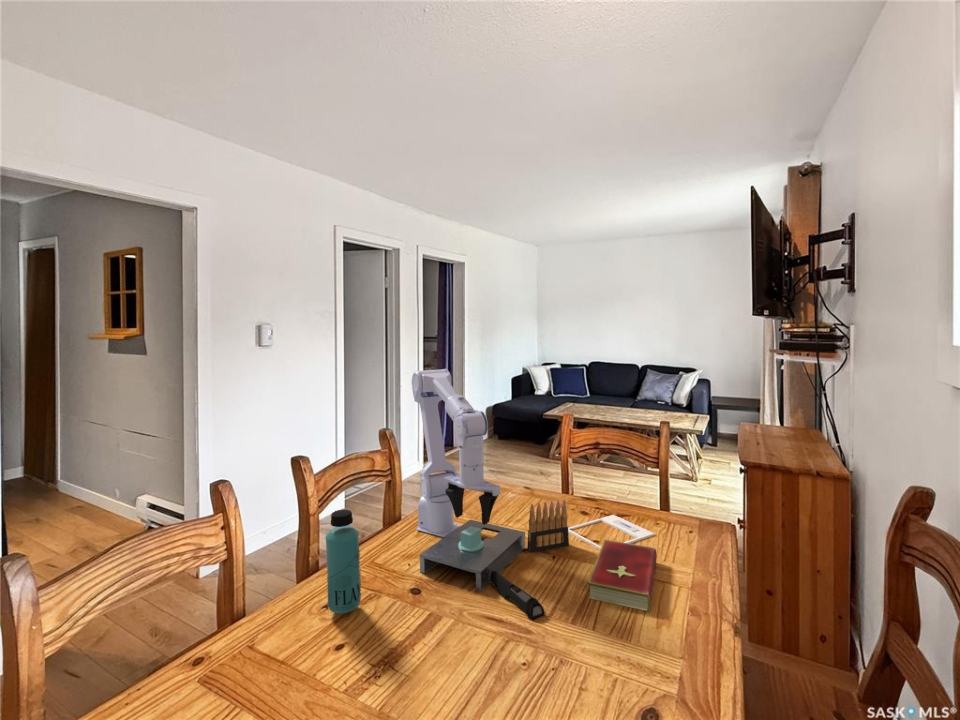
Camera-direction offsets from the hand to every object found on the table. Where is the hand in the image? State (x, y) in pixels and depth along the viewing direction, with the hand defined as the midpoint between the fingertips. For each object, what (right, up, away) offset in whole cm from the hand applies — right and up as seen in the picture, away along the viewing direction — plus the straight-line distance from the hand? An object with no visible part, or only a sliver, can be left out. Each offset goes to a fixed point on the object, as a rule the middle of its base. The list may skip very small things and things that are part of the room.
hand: (472, 519), depth 112 cm
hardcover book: (+33, -11, -9) cm, 36 cm away
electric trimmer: (+9, -11, -16) cm, 22 cm away
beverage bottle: (-25, -12, -19) cm, 33 cm away
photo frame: (+36, -9, +14) cm, 40 cm away
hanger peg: (0, -9, -1) cm, 9 cm away
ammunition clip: (+19, -9, +6) cm, 22 cm away
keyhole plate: (+1, -10, +1) cm, 10 cm away
